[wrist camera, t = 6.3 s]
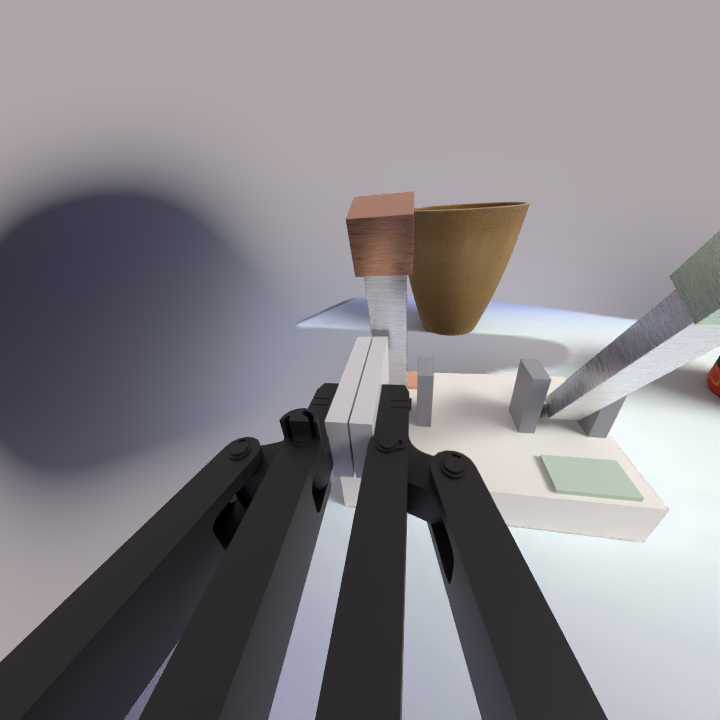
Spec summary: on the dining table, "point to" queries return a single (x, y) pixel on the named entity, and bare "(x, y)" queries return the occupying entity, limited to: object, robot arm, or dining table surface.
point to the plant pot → (461, 260)
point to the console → (531, 452)
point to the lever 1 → (385, 268)
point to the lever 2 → (650, 341)
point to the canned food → (715, 378)
